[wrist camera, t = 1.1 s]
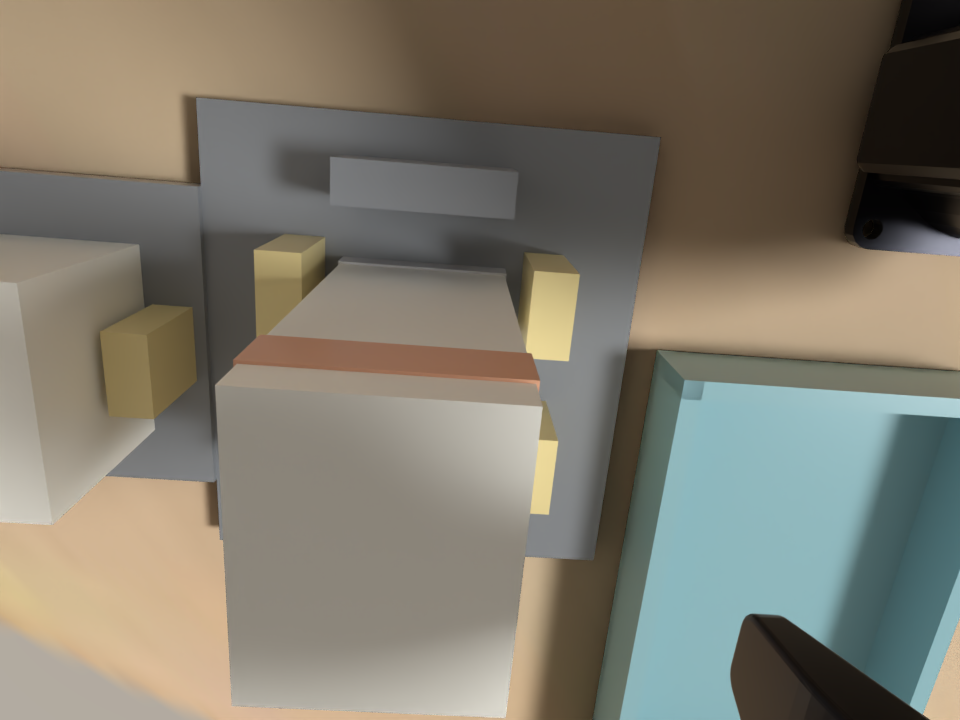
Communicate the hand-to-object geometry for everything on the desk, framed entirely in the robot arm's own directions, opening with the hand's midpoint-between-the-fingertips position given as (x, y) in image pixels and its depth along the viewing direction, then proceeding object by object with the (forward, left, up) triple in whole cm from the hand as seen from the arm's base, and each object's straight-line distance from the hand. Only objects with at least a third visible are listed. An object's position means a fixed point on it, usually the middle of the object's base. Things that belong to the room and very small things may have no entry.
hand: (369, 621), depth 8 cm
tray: (-11, +7, -11) cm, 17 cm away
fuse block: (+3, 0, -11) cm, 11 cm away
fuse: (0, 0, -10) cm, 10 cm away
